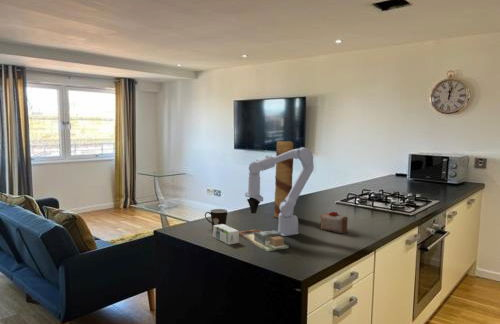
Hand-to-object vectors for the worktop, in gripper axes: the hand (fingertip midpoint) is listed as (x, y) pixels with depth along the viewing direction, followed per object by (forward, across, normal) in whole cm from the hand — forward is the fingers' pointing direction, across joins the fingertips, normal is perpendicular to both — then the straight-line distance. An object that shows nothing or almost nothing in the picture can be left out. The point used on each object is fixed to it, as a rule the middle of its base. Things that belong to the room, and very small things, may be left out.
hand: (253, 213), depth 179 cm
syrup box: (+7, +12, -17) cm, 22 cm away
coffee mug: (+10, -13, -14) cm, 22 cm away
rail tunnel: (+10, +13, -3) cm, 17 cm away
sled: (+9, +22, -3) cm, 24 cm away
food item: (+10, +14, +40) cm, 44 cm away
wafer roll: (+10, -21, +32) cm, 40 cm away
